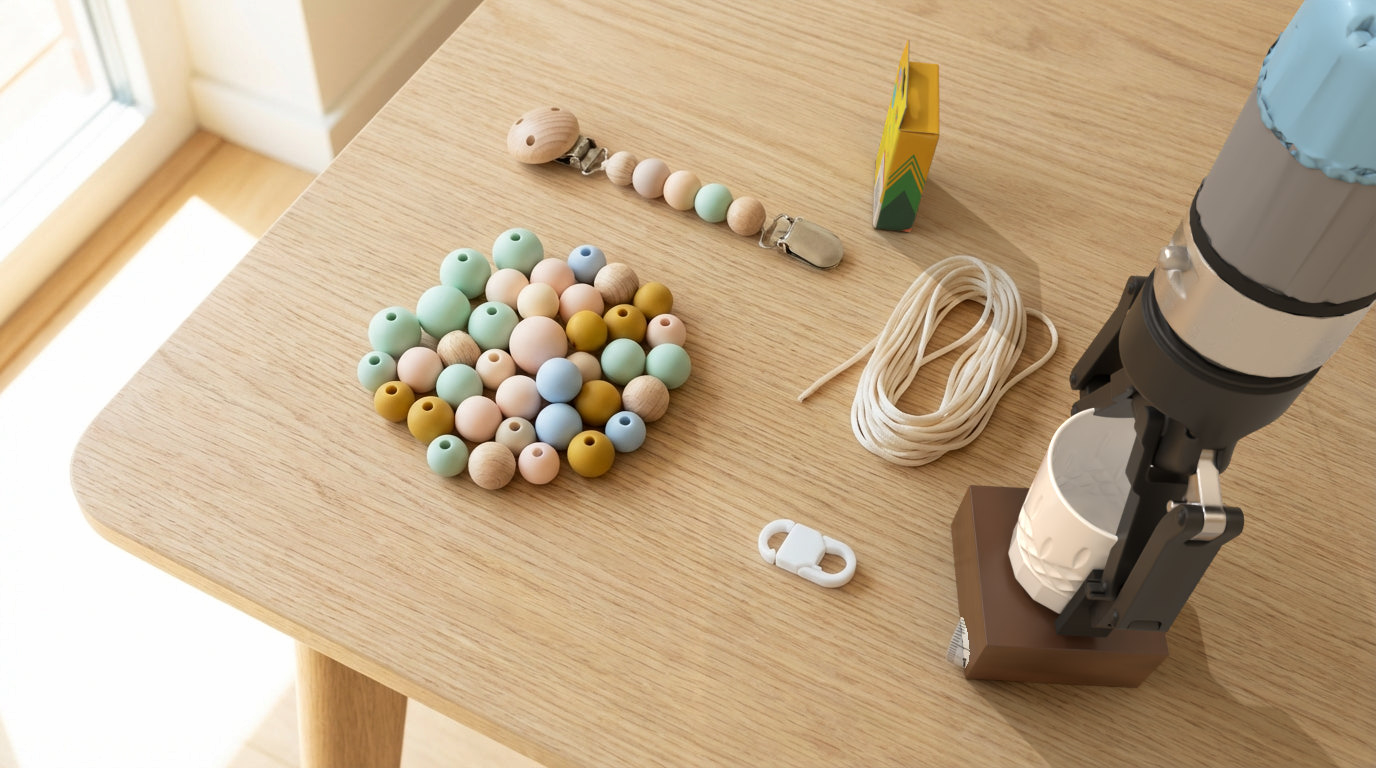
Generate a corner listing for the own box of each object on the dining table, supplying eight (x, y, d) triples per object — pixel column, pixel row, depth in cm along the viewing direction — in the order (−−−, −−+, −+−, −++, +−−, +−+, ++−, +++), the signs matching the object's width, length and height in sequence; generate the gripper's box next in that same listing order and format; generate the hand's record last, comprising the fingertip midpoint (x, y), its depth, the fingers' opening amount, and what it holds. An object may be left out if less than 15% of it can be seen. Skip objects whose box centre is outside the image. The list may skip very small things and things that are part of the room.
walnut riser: (1110, 532, 76) (1138, 493, 72) (1138, 688, 70) (1170, 655, 66) (950, 524, 76) (969, 484, 71) (964, 679, 70) (986, 645, 66)
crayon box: (912, 234, 89) (946, 116, 79) (871, 230, 89) (901, 110, 79) (914, 162, 93) (946, 41, 83) (875, 157, 93) (903, 36, 84)
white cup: (1168, 584, 68) (1243, 496, 59) (1062, 653, 65) (1125, 572, 57) (1072, 478, 71) (1130, 381, 63) (968, 540, 69) (1015, 448, 60)
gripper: (1108, 125, 55) (985, 404, 74) (1198, 530, 43) (1024, 737, 62) (1273, 135, 55) (1108, 410, 74) (1406, 541, 43) (1170, 745, 62)
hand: (1070, 559), depth 68 cm, fingers closed on white cup, 8 cm apart
